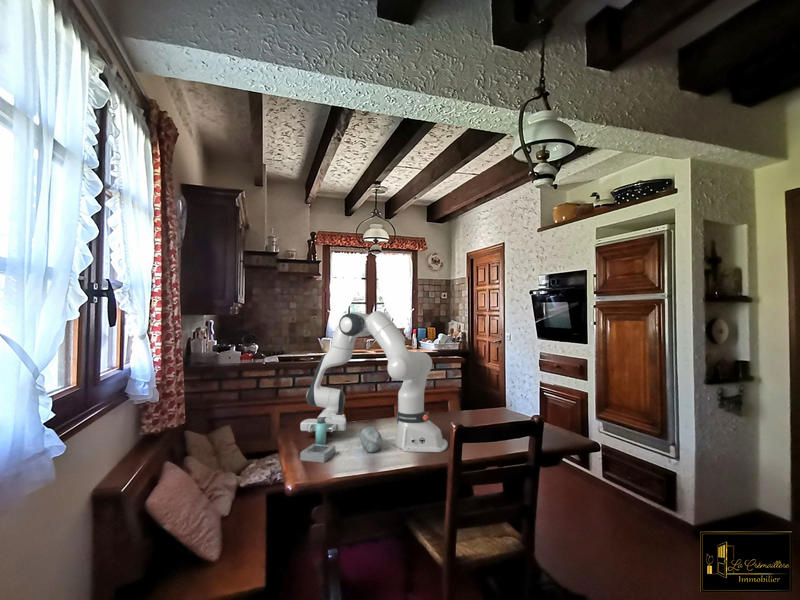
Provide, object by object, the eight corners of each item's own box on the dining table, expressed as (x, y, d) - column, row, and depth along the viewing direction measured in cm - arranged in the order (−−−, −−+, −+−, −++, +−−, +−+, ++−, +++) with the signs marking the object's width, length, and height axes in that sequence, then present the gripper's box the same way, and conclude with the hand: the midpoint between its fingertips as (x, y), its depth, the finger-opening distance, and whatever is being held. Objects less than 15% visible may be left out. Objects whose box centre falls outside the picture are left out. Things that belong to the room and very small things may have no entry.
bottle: (327, 442, 170) (328, 417, 170) (323, 445, 166) (323, 419, 166) (318, 441, 171) (318, 416, 172) (313, 444, 167) (313, 418, 167)
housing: (335, 453, 157) (335, 445, 157) (324, 462, 147) (324, 454, 147) (312, 451, 160) (312, 443, 160) (300, 460, 150) (300, 452, 150)
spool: (355, 435, 169) (366, 416, 168) (374, 444, 171) (385, 425, 169) (354, 454, 156) (366, 434, 154) (375, 463, 157) (387, 443, 156)
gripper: (304, 414, 182) (296, 423, 168) (348, 414, 182) (343, 422, 168) (304, 428, 182) (296, 437, 168) (348, 427, 181) (343, 437, 168)
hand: (320, 430), depth 168 cm, fingers open, 7 cm apart
